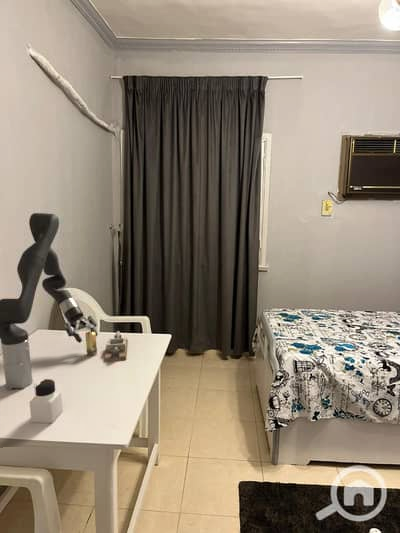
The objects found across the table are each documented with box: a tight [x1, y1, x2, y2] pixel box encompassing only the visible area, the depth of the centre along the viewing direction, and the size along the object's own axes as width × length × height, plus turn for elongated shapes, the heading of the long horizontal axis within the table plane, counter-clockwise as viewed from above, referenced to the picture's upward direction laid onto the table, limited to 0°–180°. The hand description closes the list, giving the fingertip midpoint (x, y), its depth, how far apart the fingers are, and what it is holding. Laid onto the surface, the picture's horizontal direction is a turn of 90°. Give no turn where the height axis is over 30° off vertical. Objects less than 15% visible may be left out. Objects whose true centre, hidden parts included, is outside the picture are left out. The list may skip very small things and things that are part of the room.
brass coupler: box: [85, 331, 98, 357], centre depth 172 cm, size 4×4×10 cm
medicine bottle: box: [29, 378, 63, 424], centre depth 122 cm, size 7×7×12 cm
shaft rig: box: [104, 330, 129, 362], centre depth 176 cm, size 24×9×6 cm, turn 9°
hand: (88, 338), depth 173 cm, fingers open, 8 cm apart
